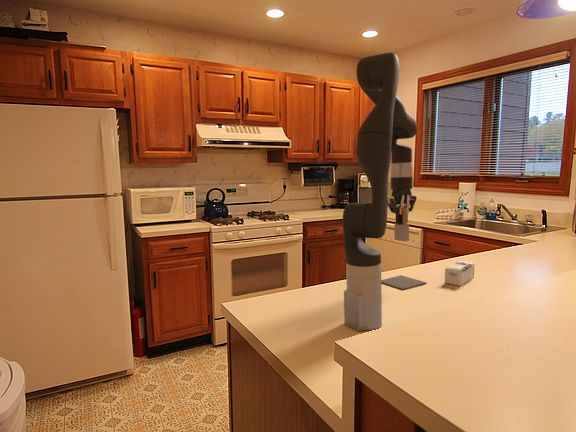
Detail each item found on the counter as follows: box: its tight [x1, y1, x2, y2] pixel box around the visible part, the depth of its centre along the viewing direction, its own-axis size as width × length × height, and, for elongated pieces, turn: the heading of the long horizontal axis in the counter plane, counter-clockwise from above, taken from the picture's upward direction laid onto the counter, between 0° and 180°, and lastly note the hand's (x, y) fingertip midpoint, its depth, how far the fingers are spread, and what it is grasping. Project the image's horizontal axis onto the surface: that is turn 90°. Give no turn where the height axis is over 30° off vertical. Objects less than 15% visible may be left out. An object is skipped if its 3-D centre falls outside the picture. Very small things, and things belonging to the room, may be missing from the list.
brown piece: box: [393, 207, 410, 243], centre depth 135 cm, size 2×5×12 cm, turn 31°
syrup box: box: [444, 260, 475, 287], centre depth 137 cm, size 6×6×14 cm
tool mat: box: [381, 275, 427, 291], centre depth 137 cm, size 12×12×1 cm
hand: (401, 224), depth 135 cm, fingers closed on brown piece, 2 cm apart
